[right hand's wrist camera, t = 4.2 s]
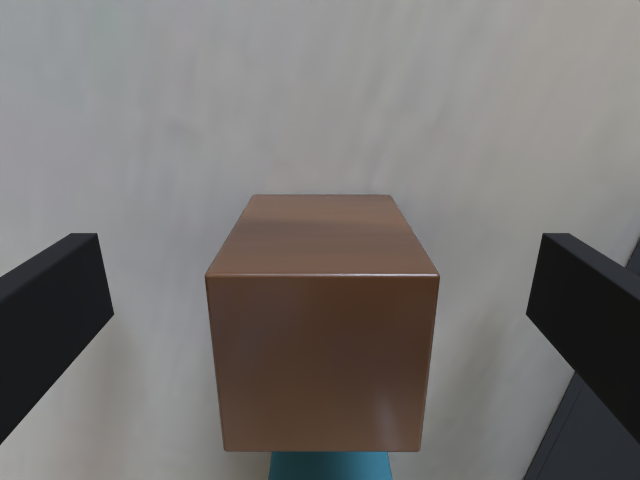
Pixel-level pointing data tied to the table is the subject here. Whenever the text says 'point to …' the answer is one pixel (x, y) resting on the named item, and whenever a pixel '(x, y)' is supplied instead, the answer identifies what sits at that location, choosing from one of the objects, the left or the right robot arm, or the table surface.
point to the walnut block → (322, 326)
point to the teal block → (330, 466)
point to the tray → (587, 435)
